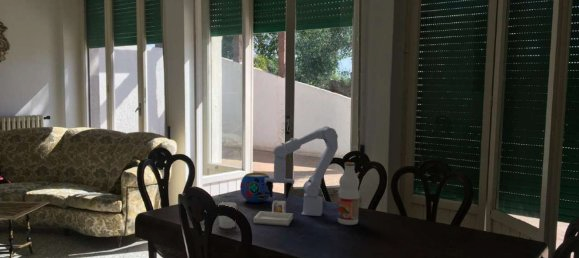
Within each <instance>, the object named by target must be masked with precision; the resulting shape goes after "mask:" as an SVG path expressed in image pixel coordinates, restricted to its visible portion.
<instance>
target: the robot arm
mask: <svg viewBox="0 0 579 258" xmlns="http://www.w3.org/2000/svg"><path fill="white" fill-rule="evenodd" d="M338 137H339V135H338V133H337V131H336V129H335V128H333V127H329V126H328V125H327V126H323V127H322V128H317V129H315V130H313V131H311V132H309V133H308V134H305V135H304V136H302V137H300V138H295V137H294V138H293V137H291V138H289V140H288V141H286V142H282V143H281V144H279V145H276V146H275V147H274V148H273V155H274V158H273V159H274V160H273V177H270V178H265V182H267V184H266V185H267V187H268V189H269V193H270V197H269V198H273V194H274V191H273V189H274V183H275V184H276V183H277V184H285V199H288V198H289V193H290V191H291V187H292V185H295V179H294V178H293V179H292V178H286V175H287V174H286V171H287V170H286V165H287V160H286V158H287V155H289V154H291V153H294V152H295V151H298V150H299V149H301V147H302V146H303V145H305V144H308V143H309V142H312V141H314V140H323V141H324V143H325V146H326V148H325V150H324V152H323V154H322V156H321V157H320V159H319V162H318V163H317V165H316V167H315V169H314V171H313V173H312V175H311V176H310V177H309V178H308V180H307V181H306V182H304V184H303V187H302V188H303V190H304V194H303V209H302V210H303V211H302V212H301V215H303V216H314V217H322V214H323V200H324V199H323V196H320V195H319V193H320V188H321V184H322V180H323V179H324V176H325V175H326V173H327V170H328V168H329V166H330V164H331V162H332V161H333V159H334V157H335V155H336V152H337V151H338V149H339V146H338V145H339V144H338V143H339V142H338Z"/></svg>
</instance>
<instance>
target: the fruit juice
mask: <svg viewBox="0 0 579 258" xmlns="http://www.w3.org/2000/svg"><path fill="white" fill-rule="evenodd" d="M343 165H344V170H343V173H342V175H341V176H340V178H339V181H338V184H339V190H338V204H337V205H338V206H337V222H338V223H339V224H341V225H347V226H353V225H354V226H355V225H357V224H359V223H358V222H359V211H360V209H359V207H360V206H359V205H360V192H359V186H360V185H359V184H360V179H359V178H358V176H357V174H356V170H355V167H356V163H355V162H351V161H345V162H344V164H343Z"/></svg>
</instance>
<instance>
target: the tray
mask: <svg viewBox="0 0 579 258" xmlns="http://www.w3.org/2000/svg"><path fill="white" fill-rule="evenodd" d="M293 215H294V213H292V212H291V213H290V212H286V213H277V212H272V211H262V210H260V211H258V213H257V214H256V215H255V216H254V217H253V224H257V225H258V224H259V225H270V226H271V225H274V226H287V227H288V226H289V225H290V224H291V223H292V221H293Z"/></svg>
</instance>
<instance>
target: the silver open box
mask: <svg viewBox="0 0 579 258" xmlns="http://www.w3.org/2000/svg"><path fill="white" fill-rule="evenodd" d="M286 206H287V202H286V200H273V202H271V212H276V208H277V207H280V208H281V209H282V212H281V213H287V212H286V211H287V210H286Z"/></svg>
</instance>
